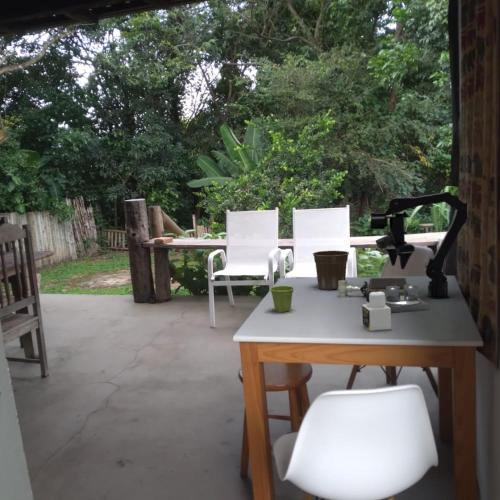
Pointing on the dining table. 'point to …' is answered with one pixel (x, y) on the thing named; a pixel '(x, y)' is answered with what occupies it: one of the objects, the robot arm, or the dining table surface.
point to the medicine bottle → (376, 311)
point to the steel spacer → (392, 293)
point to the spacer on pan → (411, 292)
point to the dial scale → (407, 305)
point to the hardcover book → (386, 283)
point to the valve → (350, 288)
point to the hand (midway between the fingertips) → (397, 267)
